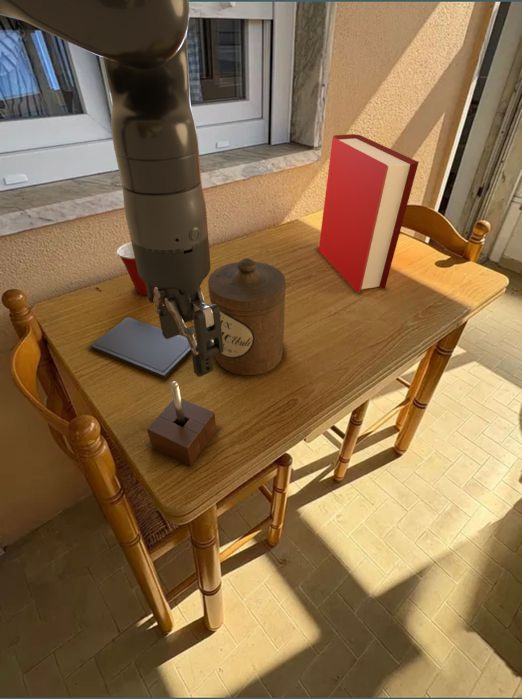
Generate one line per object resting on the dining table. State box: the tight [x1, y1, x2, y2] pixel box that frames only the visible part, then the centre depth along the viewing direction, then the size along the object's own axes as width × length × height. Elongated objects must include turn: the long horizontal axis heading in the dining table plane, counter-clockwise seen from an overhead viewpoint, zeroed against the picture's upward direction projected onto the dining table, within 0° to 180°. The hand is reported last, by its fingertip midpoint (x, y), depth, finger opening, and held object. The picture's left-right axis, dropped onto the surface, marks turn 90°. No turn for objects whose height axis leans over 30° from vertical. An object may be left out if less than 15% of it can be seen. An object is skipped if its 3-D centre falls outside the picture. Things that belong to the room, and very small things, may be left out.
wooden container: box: [207, 257, 287, 376], centre depth 76 cm, size 15×15×22 cm
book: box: [318, 133, 419, 294], centre depth 101 cm, size 27×8×32 cm, turn 18°
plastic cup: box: [116, 242, 156, 296], centre depth 98 cm, size 11×11×12 cm
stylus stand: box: [146, 398, 217, 467], centre depth 64 cm, size 8×8×5 cm
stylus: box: [169, 380, 186, 427], centre depth 61 cm, size 1×1×14 cm
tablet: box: [89, 316, 197, 380], centre depth 83 cm, size 12×20×1 cm, turn 63°
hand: (187, 353), depth 48 cm, fingers open, 8 cm apart
